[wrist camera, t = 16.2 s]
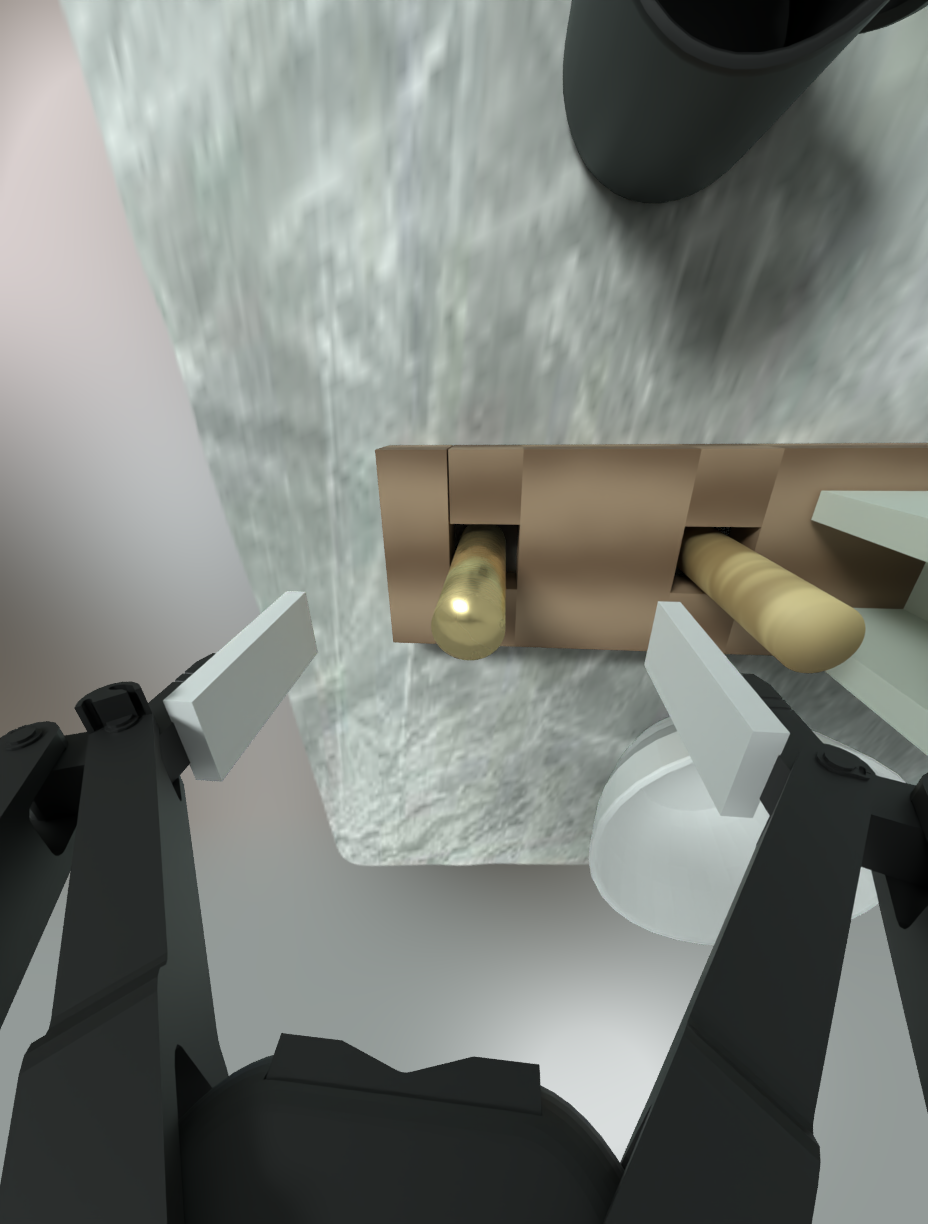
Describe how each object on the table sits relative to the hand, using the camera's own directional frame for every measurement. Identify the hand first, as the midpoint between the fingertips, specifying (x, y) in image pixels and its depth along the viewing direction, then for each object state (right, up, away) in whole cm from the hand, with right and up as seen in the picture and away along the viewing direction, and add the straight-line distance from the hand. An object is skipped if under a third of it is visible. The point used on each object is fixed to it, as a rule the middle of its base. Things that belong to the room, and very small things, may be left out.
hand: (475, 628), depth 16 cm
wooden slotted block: (+10, +5, +11) cm, 16 cm away
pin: (+1, +5, +12) cm, 13 cm away
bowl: (+18, -11, +18) cm, 28 cm away
